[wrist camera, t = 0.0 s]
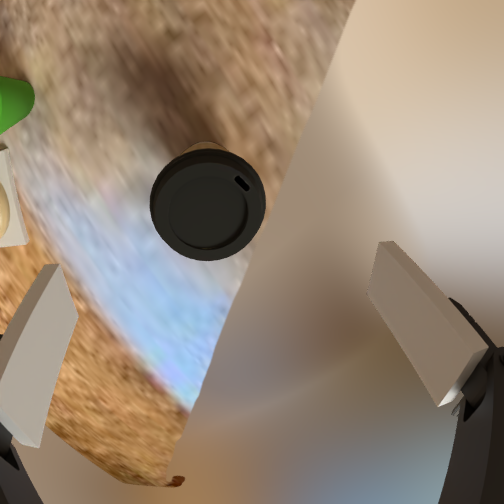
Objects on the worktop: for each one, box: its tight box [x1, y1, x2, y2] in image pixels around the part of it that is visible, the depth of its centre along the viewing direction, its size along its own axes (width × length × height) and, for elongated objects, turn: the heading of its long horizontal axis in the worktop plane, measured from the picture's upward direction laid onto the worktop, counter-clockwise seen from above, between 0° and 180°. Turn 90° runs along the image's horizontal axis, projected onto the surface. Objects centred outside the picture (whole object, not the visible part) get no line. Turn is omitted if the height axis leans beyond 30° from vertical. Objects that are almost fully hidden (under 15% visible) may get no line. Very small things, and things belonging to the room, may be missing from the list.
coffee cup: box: [150, 142, 266, 261], centre depth 31 cm, size 10×10×15 cm
